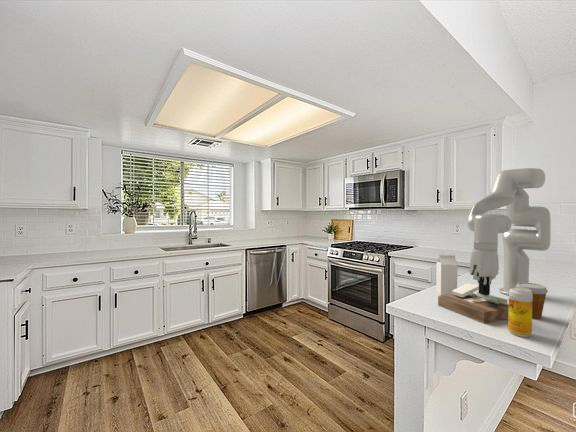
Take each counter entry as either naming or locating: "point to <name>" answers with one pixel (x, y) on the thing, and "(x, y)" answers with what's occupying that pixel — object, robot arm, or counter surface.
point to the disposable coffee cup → (536, 297)
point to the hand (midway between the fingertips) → (484, 294)
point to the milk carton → (446, 274)
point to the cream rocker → (465, 290)
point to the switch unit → (475, 307)
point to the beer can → (520, 311)
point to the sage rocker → (492, 298)
